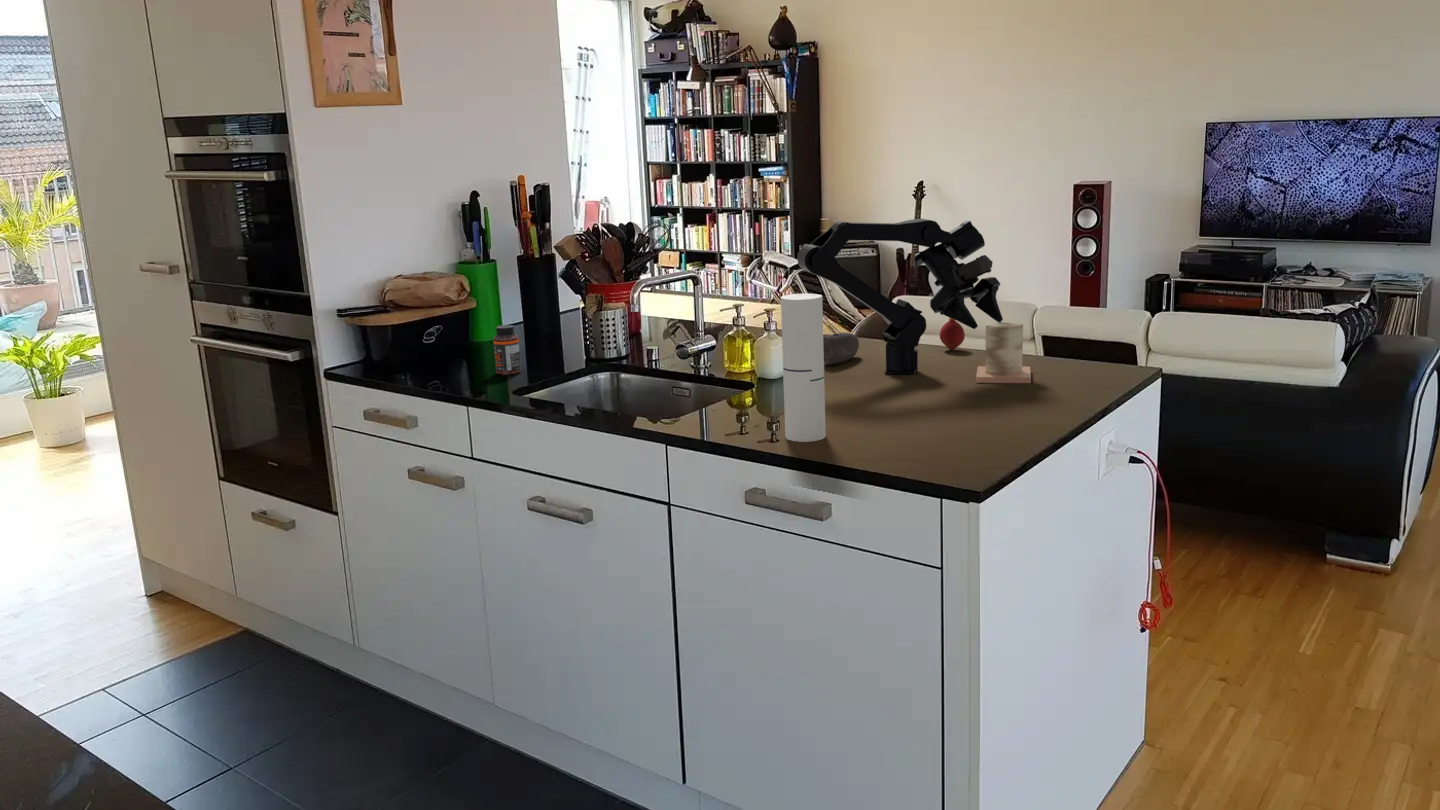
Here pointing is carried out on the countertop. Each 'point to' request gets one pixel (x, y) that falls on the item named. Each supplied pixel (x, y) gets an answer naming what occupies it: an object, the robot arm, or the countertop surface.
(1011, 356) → the birch block
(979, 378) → the terracotta tile
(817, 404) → the cylindrical container
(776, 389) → the countertop surface
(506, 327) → the supplement bottle
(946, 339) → the onion
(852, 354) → the perforated stone tool
